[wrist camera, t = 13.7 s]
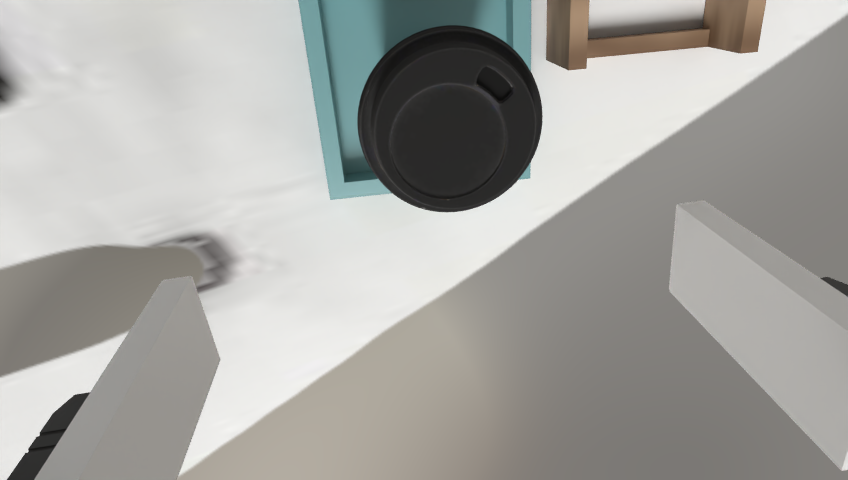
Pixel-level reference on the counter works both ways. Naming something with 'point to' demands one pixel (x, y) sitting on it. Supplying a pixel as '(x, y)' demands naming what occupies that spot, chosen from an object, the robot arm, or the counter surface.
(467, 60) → the coffee cup
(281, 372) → the counter surface
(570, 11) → the holder
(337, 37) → the tray
